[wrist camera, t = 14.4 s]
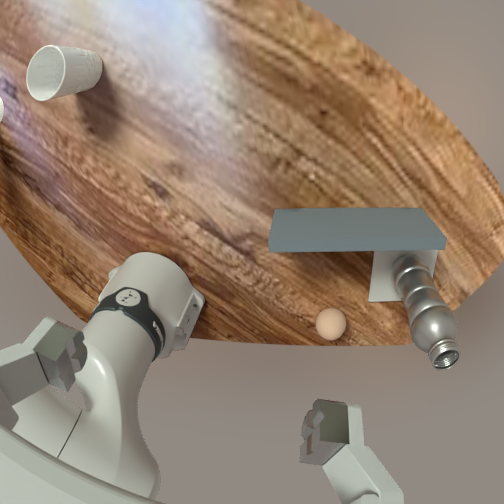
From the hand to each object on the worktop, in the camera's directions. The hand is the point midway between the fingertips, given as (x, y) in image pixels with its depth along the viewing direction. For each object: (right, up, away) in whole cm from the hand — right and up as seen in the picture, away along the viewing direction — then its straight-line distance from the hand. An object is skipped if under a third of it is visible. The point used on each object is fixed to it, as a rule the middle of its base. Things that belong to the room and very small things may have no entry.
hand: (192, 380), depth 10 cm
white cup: (-24, +32, +29) cm, 49 cm away
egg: (+15, -6, +44) cm, 47 cm away
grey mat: (+26, +1, +38) cm, 46 cm away
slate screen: (+16, +8, +36) cm, 40 cm away
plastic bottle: (+27, +2, +37) cm, 46 cm away
